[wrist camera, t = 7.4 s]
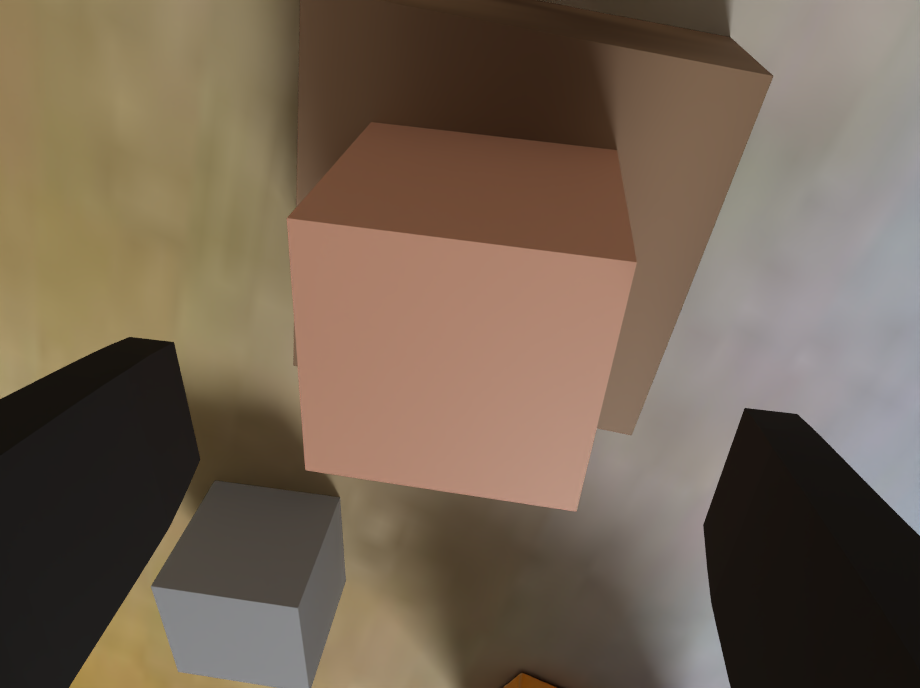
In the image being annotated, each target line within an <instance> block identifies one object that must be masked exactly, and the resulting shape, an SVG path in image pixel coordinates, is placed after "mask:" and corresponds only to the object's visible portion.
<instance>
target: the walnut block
mask: <svg viewBox="0 0 920 688" xmlns="http://www.w3.org/2000/svg"><path fill="white" fill-rule="evenodd" d="M772 78H773V75H772V74H771V73H769V72H768V71H767V70H766V69H765V68H764V67H763V66H762V65H761V64H759V63H758V62H757V61H756V60H755V59H754V58H753V57H752V56H751V55H749V54H748V53H747V52H746V51H745V50H744V49H743V48H742V47H741V46H739V45H738V44H737V43H736V42H735V41H734V40H733V39H732V38H731V37H727V36H722V35H717V34H711V33H706V32H701V31H696V30H690V29H685V28H680V27H674V26H669V25H664V24H659V23H653V22H648V21H643V20H638V19H632V18H627V17H622V16H617V15H611V14H606V13H601V12H595V11H590V10H585V9H580V8H574V7H569V6H564V5H559V4H553V3H548V2H543V1H537V0H300V32H299V86H298V141H297V196H296V207H297V206H298V205H299V204H300V203H301V202H302V200H303V199H304V198H305V197H306V196H307V195H308V194H309V192H310V191H311V190H312V189H313V188H314V187H315V186H316V184H317V183H318V182H319V181H320V180H321V179H322V178H323V176H324V175H325V174H326V173H327V172H328V171H329V170H330V168H331V167H332V166H333V165H334V164H335V163H336V162H337V160H338V159H339V158H340V157H341V156H342V155H343V154H344V152H345V151H346V150H347V149H348V148H349V147H350V146H351V144H352V143H353V142H354V141H355V140H356V139H357V138H358V136H359V135H360V134H361V133H362V132H363V131H364V130H365V129H366V127H367V126H368V125H369V124H370V123H371V122H375V123H384V124H393V125H401V126H410V127H419V128H428V129H436V130H445V131H454V132H462V133H471V134H480V135H489V136H497V137H506V138H515V139H524V140H532V141H541V142H550V143H559V144H567V145H576V146H585V147H594V148H602V149H611V150H617V152H618V158H619V164H620V169H621V175H622V181H623V186H624V192H625V198H626V203H627V209H628V214H629V220H630V226H631V231H632V237H633V243H634V248H635V254H636V260H637V264H636V269H635V273H634V277H633V281H632V285H631V289H630V293H629V297H628V301H627V306H626V310H625V314H624V318H623V322H622V326H621V330H620V334H619V339H618V343H617V347H616V351H615V355H614V359H613V363H612V367H611V372H610V376H609V380H608V384H607V388H606V392H605V396H604V400H603V404H602V409H601V413H600V417H599V421H598V425H597V428H598V429H603V430H608V431H613V432H618V433H622V434H627V435H632V433H633V430H634V428H635V425H636V423H637V420H638V418H639V415H640V413H641V410H642V408H643V405H644V403H645V400H646V397H647V395H648V392H649V390H650V387H651V385H652V382H653V380H654V377H655V375H656V372H657V370H658V367H659V365H660V362H661V359H662V357H663V354H664V352H665V349H666V347H667V344H668V342H669V339H670V337H671V334H672V332H673V329H674V326H675V324H676V321H677V319H678V316H679V314H680V311H681V309H682V306H683V304H684V301H685V299H686V296H687V294H688V291H689V288H690V286H691V283H692V281H693V278H694V276H695V273H696V271H697V268H698V266H699V263H700V261H701V258H702V255H703V253H704V250H705V248H706V245H707V243H708V240H709V238H710V235H711V233H712V230H713V228H714V225H715V223H716V220H717V217H718V215H719V212H720V210H721V207H722V205H723V202H724V200H725V197H726V195H727V192H728V190H729V187H730V184H731V182H732V179H733V177H734V174H735V172H736V169H737V167H738V164H739V162H740V159H741V157H742V154H743V152H744V149H745V146H746V144H747V141H748V139H749V136H750V134H751V131H752V129H753V126H754V124H755V121H756V119H757V116H758V113H759V111H760V108H761V106H762V103H763V101H764V98H765V96H766V93H767V91H768V88H769V86H770V83H771V81H772ZM293 365H294V366H298V364H297V350H296V336H295V323H294V361H293Z"/></svg>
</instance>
